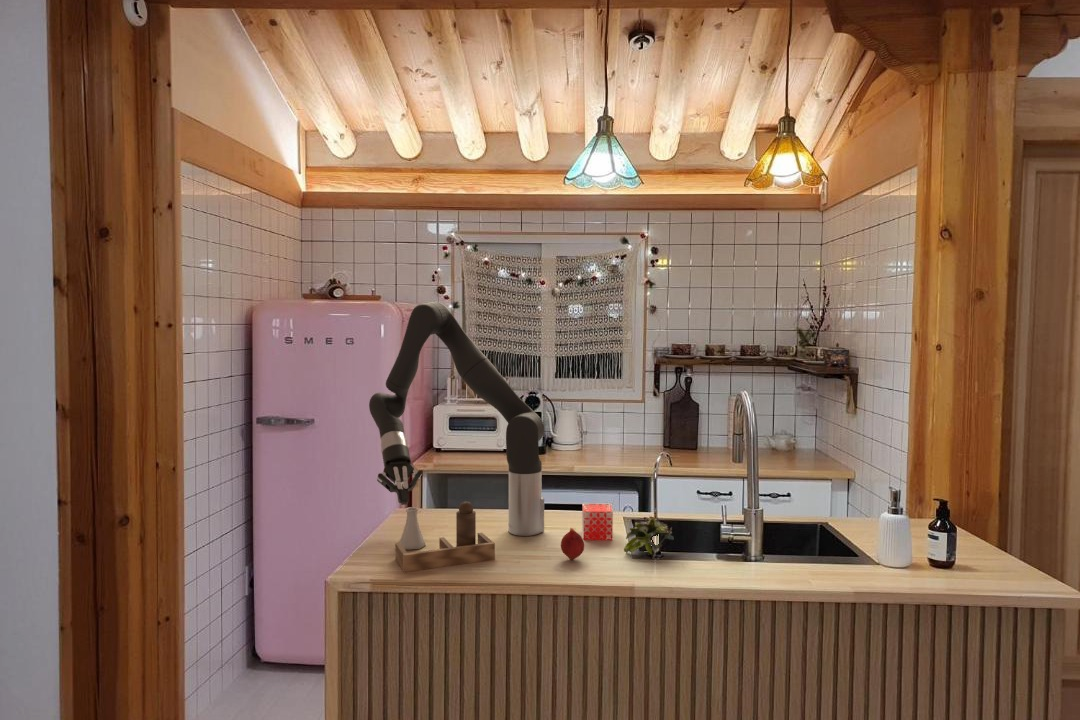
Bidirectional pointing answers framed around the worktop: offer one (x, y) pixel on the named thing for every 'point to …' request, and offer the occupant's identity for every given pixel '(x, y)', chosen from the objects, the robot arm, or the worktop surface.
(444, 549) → the rack
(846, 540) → the worktop surface
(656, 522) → the green leafy plant
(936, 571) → the worktop surface
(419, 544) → the flask
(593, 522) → the red patterned cube
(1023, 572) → the worktop surface
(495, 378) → the robot arm
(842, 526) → the worktop surface
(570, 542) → the onion
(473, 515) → the pepper mill
